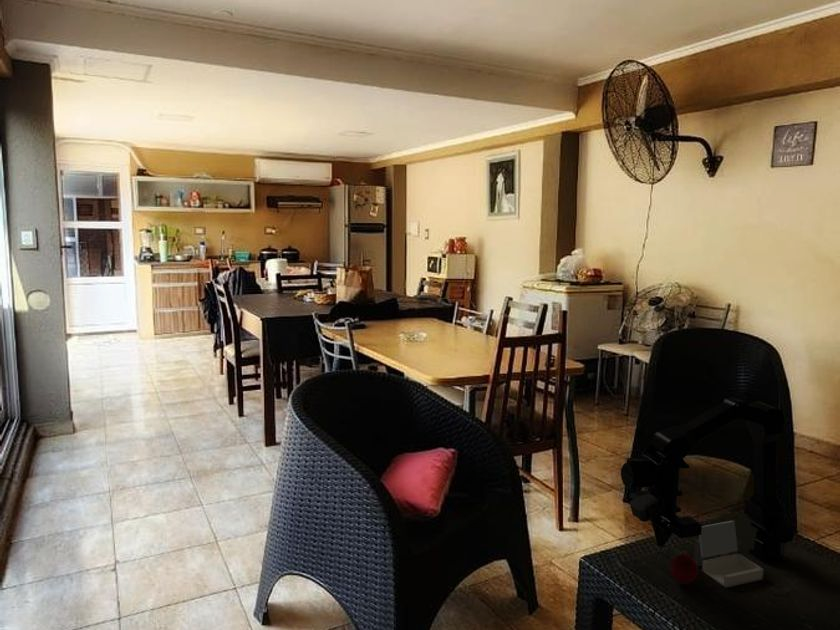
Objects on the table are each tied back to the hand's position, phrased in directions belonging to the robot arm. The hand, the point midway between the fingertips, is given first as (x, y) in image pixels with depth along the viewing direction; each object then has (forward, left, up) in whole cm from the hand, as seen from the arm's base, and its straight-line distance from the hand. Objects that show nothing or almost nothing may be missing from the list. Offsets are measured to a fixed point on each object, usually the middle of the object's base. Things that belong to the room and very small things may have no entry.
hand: (660, 546), depth 146 cm
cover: (-14, +4, +2) cm, 15 cm away
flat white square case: (-14, +7, -5) cm, 16 cm away
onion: (0, +8, -5) cm, 10 cm away
